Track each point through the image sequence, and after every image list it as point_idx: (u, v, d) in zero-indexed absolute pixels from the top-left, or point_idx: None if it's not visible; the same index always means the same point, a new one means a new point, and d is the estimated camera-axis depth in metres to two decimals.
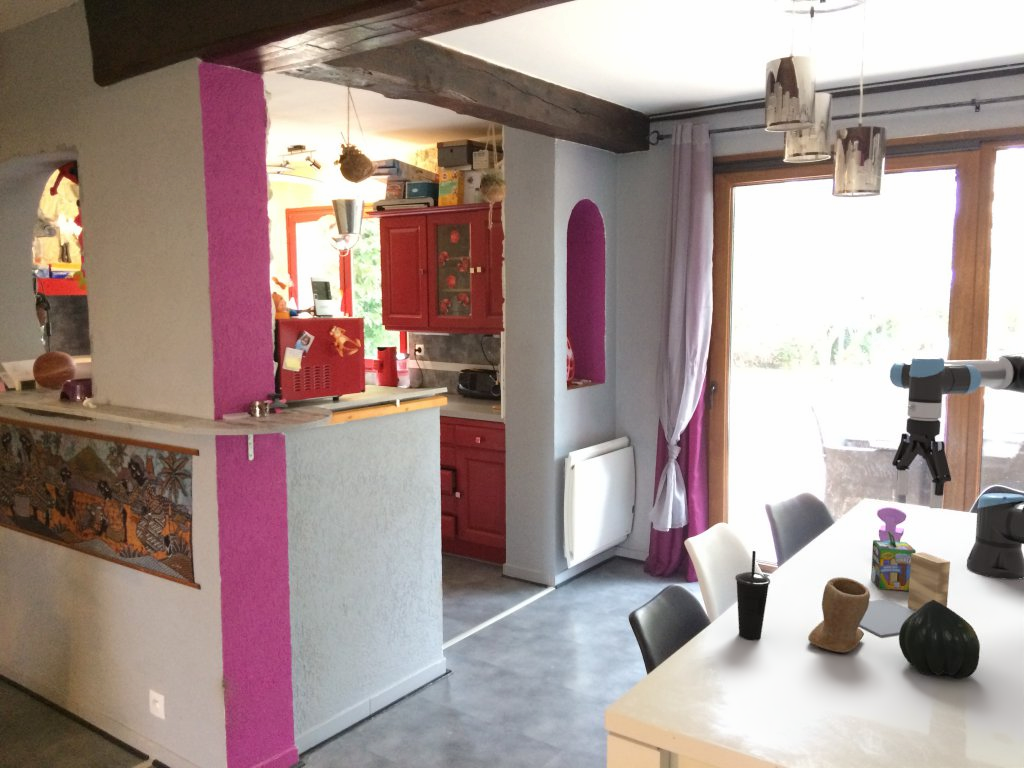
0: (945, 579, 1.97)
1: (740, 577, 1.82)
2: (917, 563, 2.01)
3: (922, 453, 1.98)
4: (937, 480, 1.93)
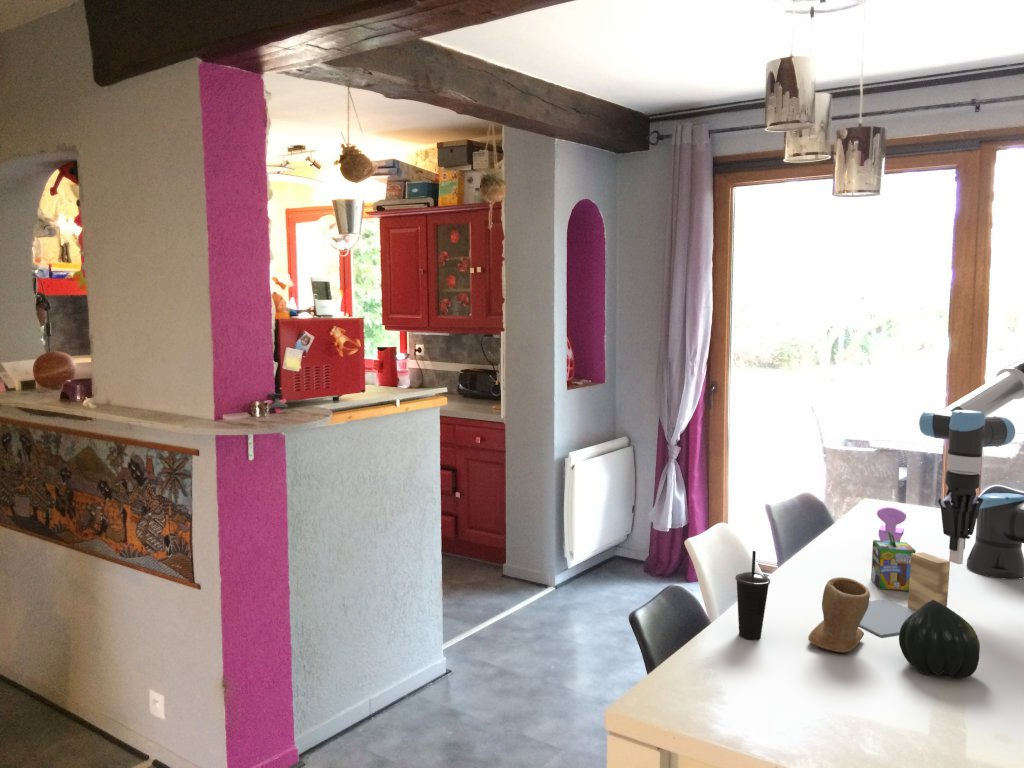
0: (945, 579, 1.97)
1: (740, 577, 1.82)
2: (917, 563, 2.01)
3: None
4: (949, 535, 2.03)
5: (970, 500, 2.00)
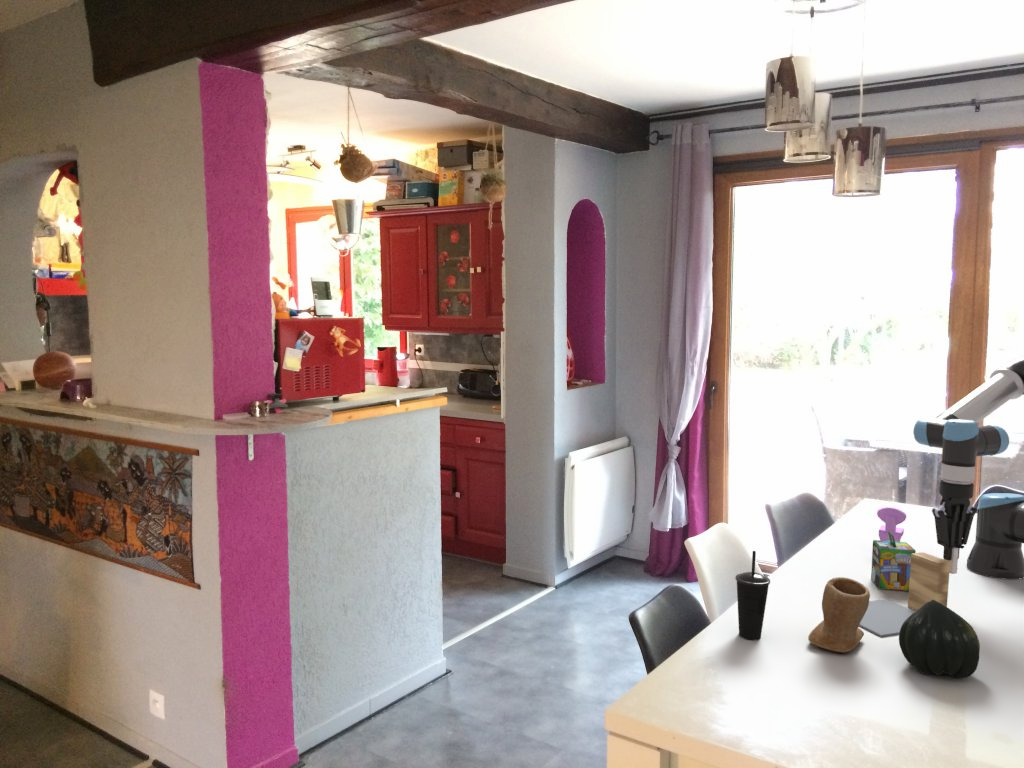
0: (945, 579, 1.97)
1: (740, 577, 1.82)
2: (917, 563, 2.01)
3: None
4: (943, 545, 2.02)
5: (964, 510, 1.99)
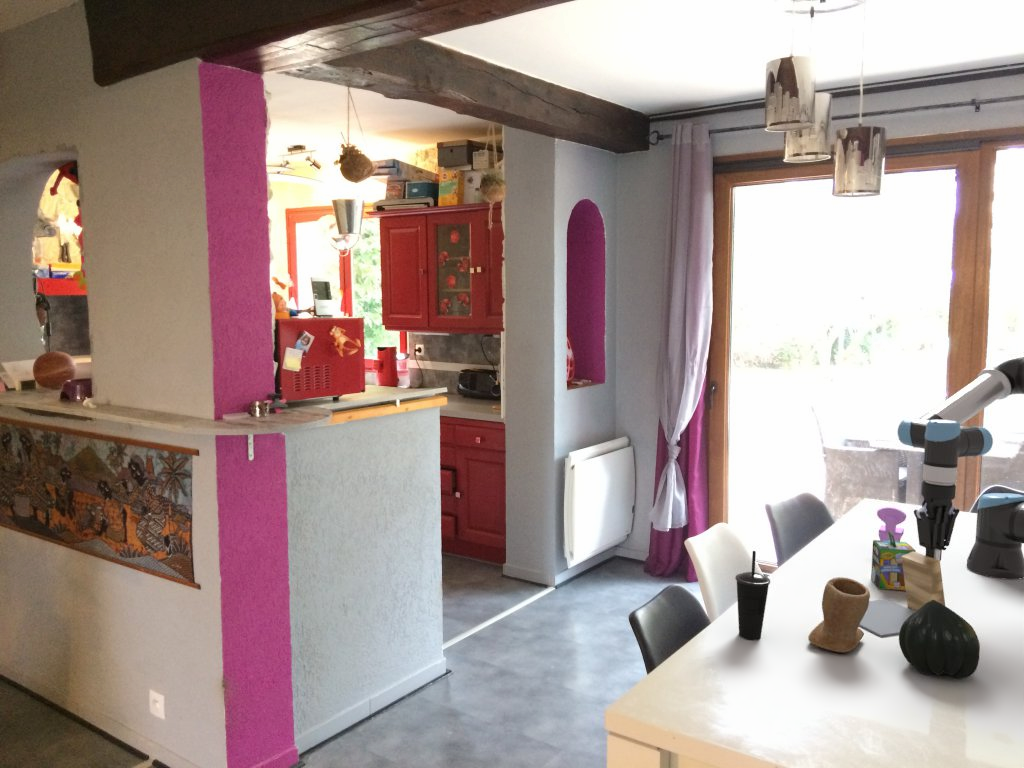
0: (938, 578, 1.96)
1: (740, 577, 1.82)
2: (908, 566, 2.00)
3: None
4: (925, 547, 2.00)
5: (946, 511, 1.97)
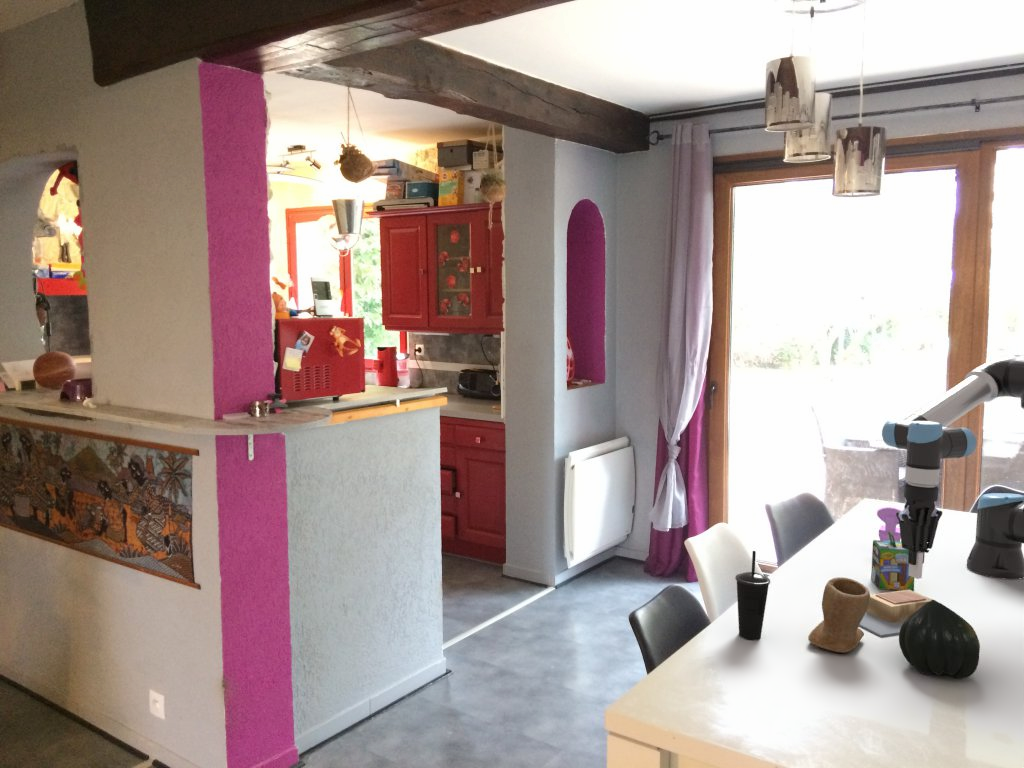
0: (905, 609, 1.93)
1: (740, 577, 1.82)
2: None
3: None
4: (908, 549, 1.98)
5: (929, 513, 1.95)
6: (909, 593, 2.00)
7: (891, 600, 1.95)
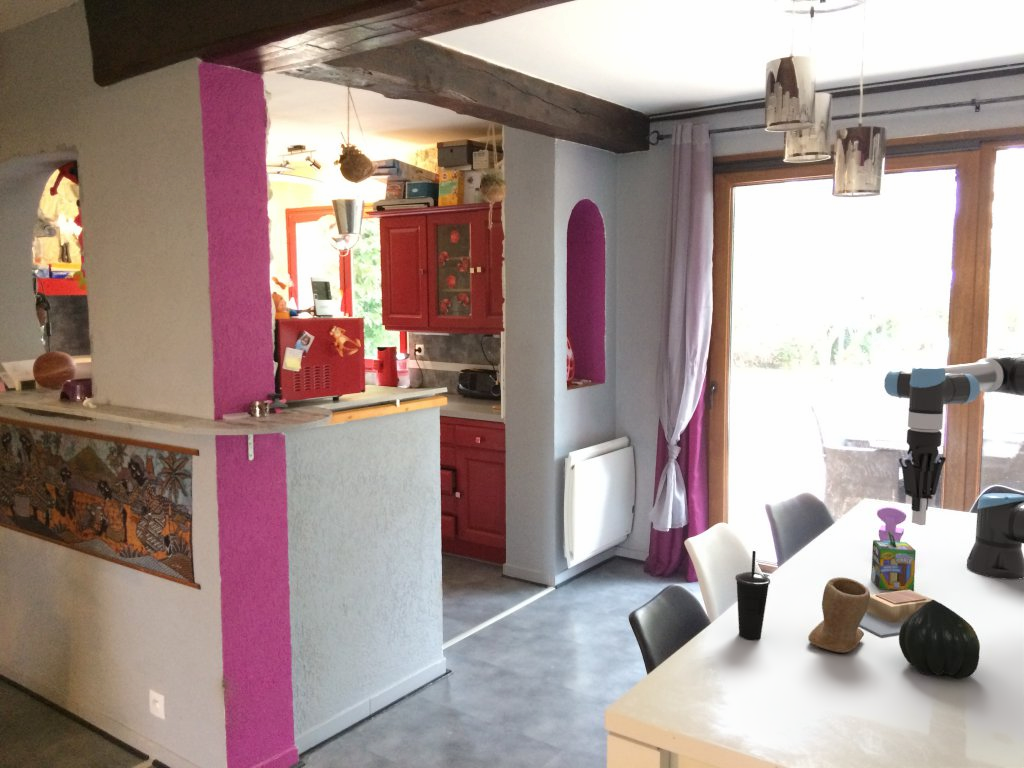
0: (905, 609, 1.93)
1: (740, 577, 1.82)
2: None
3: None
4: (911, 496, 1.97)
5: (932, 459, 1.94)
6: (909, 593, 2.00)
7: (891, 600, 1.95)
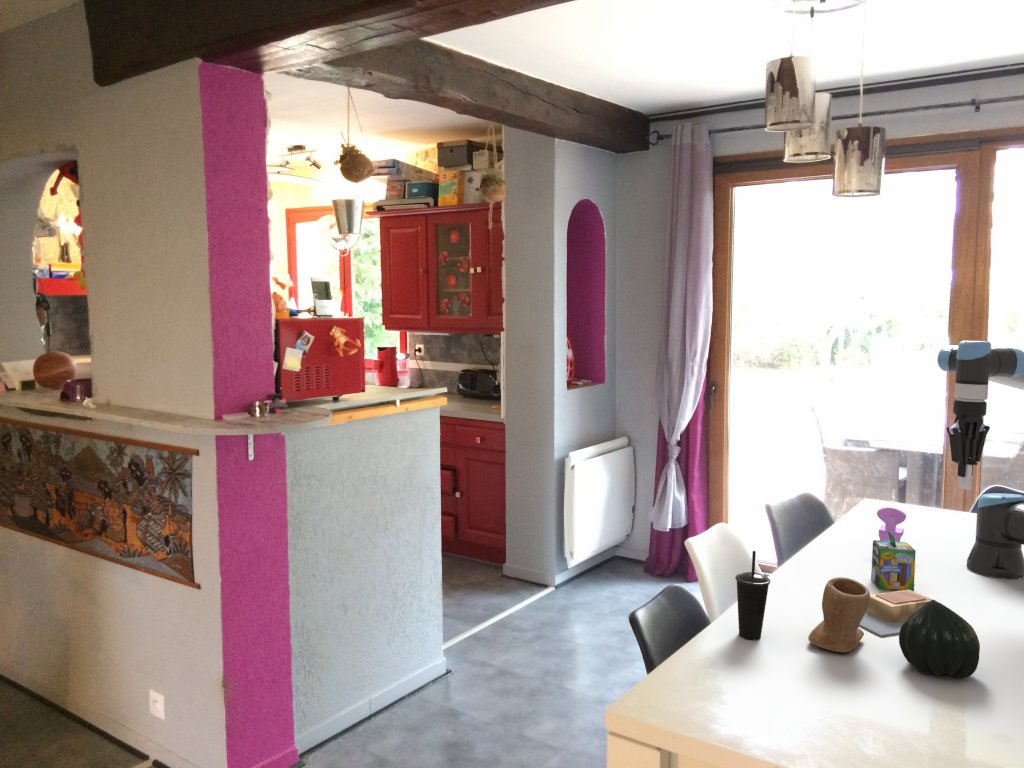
0: (905, 609, 1.93)
1: (740, 577, 1.82)
2: None
3: None
4: (957, 462, 2.09)
5: (977, 427, 2.07)
6: (909, 593, 2.00)
7: (891, 600, 1.95)
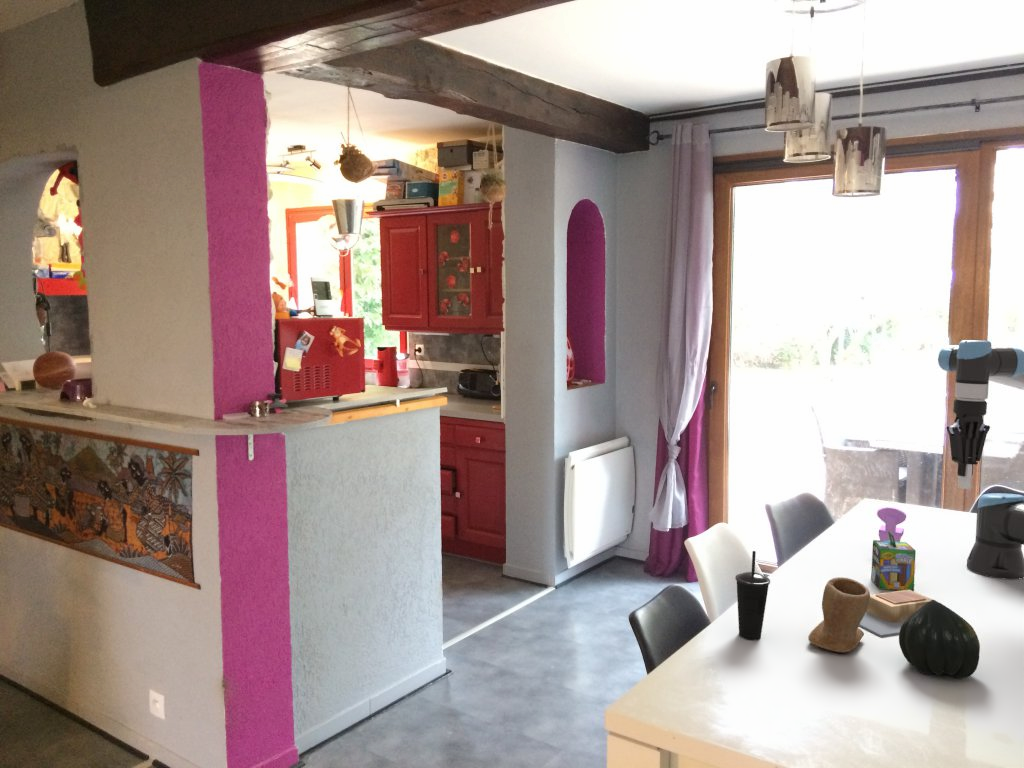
0: (905, 609, 1.93)
1: (740, 577, 1.82)
2: None
3: None
4: (957, 462, 2.09)
5: (978, 427, 2.07)
6: (909, 593, 2.00)
7: (891, 600, 1.95)
